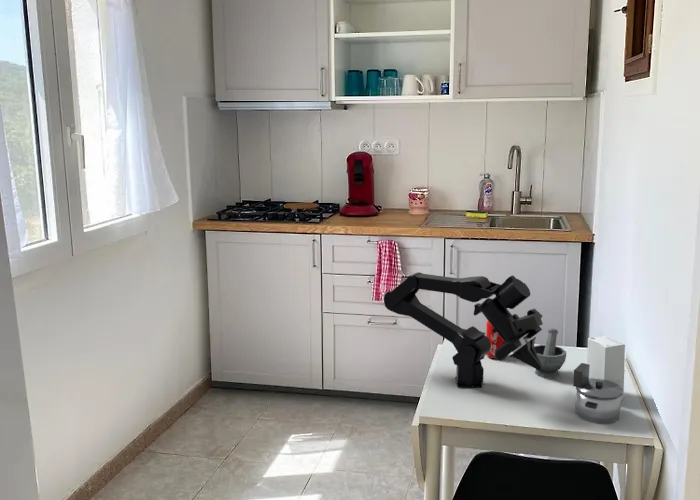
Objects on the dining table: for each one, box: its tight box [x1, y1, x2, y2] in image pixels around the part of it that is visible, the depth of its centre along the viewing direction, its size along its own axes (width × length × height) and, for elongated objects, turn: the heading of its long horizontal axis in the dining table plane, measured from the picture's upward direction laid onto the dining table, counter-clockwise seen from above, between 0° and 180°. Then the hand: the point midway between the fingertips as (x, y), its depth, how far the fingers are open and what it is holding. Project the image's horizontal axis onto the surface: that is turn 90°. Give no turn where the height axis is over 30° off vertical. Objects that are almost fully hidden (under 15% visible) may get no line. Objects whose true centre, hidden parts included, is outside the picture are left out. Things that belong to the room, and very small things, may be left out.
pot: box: [575, 390, 622, 425], centre depth 165 cm, size 10×13×6 cm
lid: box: [572, 362, 623, 399], centre depth 164 cm, size 11×11×5 cm
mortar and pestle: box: [534, 328, 567, 379], centre depth 190 cm, size 11×9×12 cm
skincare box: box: [586, 335, 626, 401], centre depth 175 cm, size 8×6×15 cm
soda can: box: [485, 320, 504, 360], centre depth 204 cm, size 6×6×12 cm
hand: (540, 368), depth 172 cm, fingers closed
